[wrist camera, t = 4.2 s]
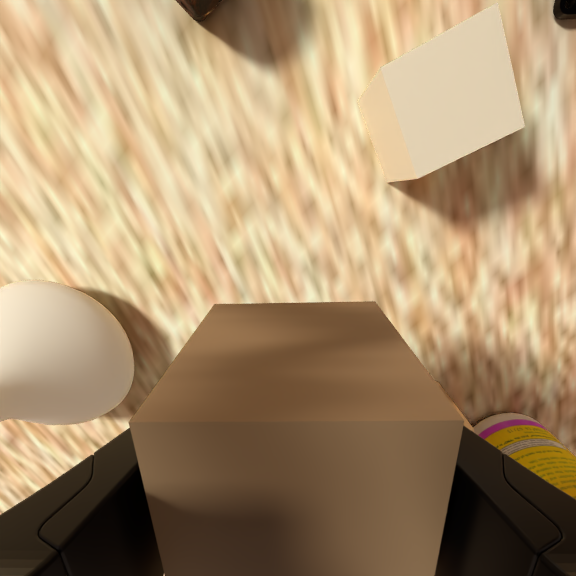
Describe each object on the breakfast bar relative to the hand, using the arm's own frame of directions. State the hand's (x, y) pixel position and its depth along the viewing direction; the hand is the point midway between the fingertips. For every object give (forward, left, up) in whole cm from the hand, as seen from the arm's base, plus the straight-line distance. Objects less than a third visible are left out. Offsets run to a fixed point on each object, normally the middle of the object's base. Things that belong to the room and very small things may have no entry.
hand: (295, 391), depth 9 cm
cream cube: (-7, -10, -13) cm, 17 cm away
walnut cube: (0, 0, -1) cm, 1 cm away
